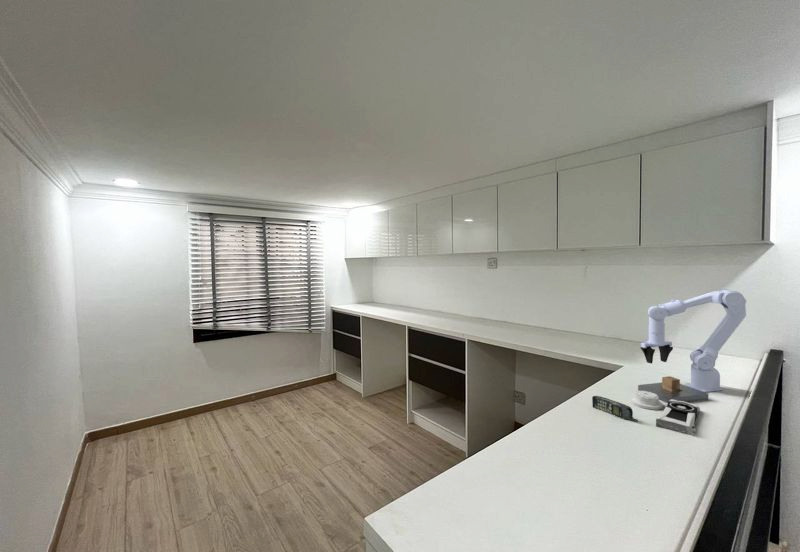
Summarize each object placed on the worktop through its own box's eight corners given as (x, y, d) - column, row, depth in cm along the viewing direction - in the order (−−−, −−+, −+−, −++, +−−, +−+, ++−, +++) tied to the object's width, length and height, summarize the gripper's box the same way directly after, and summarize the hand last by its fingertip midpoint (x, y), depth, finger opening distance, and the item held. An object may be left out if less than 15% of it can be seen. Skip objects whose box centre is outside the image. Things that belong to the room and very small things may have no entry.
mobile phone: (590, 395, 125) (634, 409, 112) (595, 393, 127) (638, 407, 114) (591, 408, 125) (634, 423, 112) (595, 406, 127) (639, 421, 114)
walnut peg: (670, 392, 137) (670, 376, 137) (679, 396, 133) (679, 379, 133) (662, 393, 136) (662, 377, 136) (671, 397, 132) (671, 380, 132)
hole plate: (673, 386, 143) (673, 381, 143) (708, 399, 129) (708, 393, 129) (638, 390, 140) (638, 385, 140) (670, 404, 126) (670, 398, 126)
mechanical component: (638, 409, 123) (668, 411, 121) (639, 398, 123) (668, 399, 121) (625, 399, 132) (653, 400, 131) (625, 388, 132) (653, 389, 130)
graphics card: (655, 418, 110) (668, 396, 126) (655, 428, 110) (668, 405, 127) (695, 429, 102) (703, 404, 119) (695, 439, 102) (703, 413, 119)
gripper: (661, 330, 153) (661, 358, 153) (635, 331, 150) (635, 360, 151) (676, 333, 146) (676, 362, 146) (649, 335, 143) (649, 365, 144)
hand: (656, 362), depth 148 cm, fingers open, 7 cm apart
